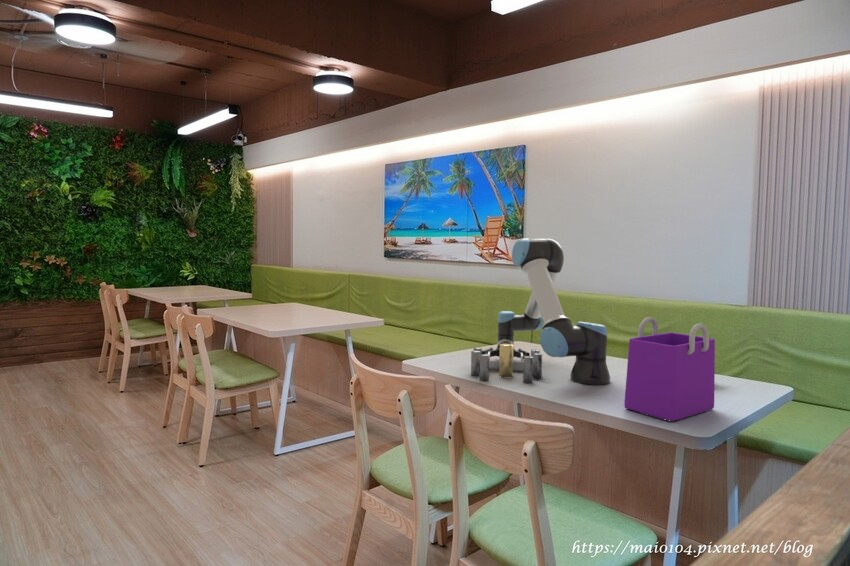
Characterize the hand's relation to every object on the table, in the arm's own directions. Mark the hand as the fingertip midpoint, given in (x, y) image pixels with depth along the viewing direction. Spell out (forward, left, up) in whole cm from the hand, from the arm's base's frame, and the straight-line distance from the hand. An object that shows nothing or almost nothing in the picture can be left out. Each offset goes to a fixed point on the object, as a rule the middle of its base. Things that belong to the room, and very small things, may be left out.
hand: (505, 358), depth 224 cm
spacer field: (-1, 0, -7) cm, 7 cm away
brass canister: (-1, 0, -7) cm, 7 cm away
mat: (+10, -12, -7) cm, 17 cm away
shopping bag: (-65, -7, -7) cm, 66 cm away
